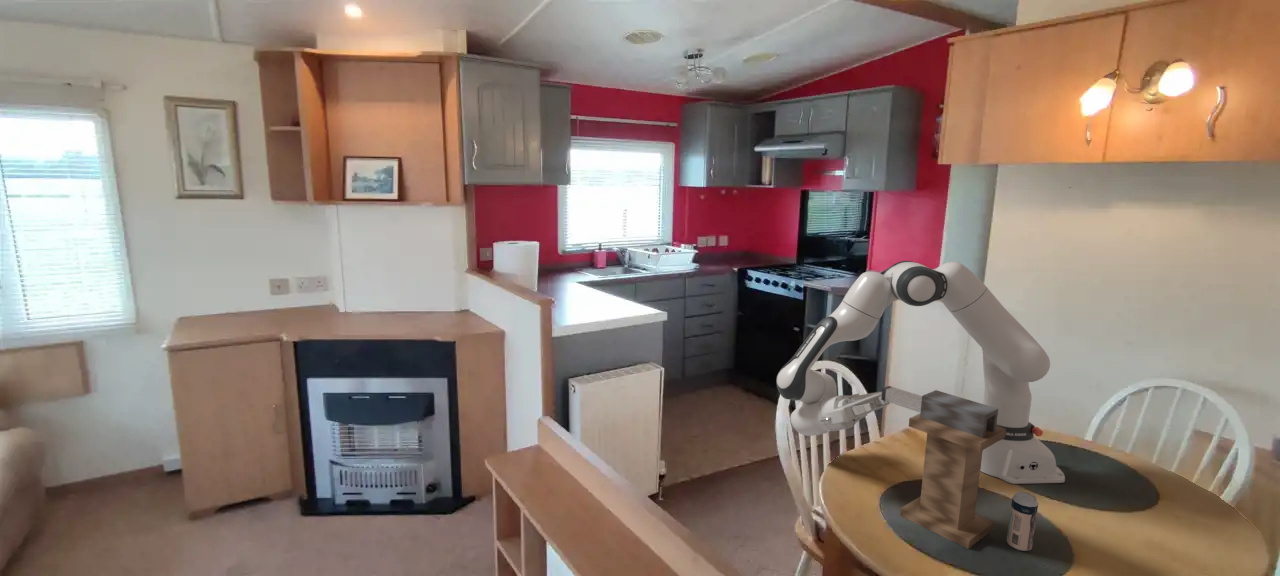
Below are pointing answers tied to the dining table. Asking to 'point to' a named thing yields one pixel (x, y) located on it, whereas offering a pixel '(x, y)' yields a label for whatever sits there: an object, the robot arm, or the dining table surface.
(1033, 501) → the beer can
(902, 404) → the spindle bar
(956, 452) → the stand
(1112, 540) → the dining table surface
